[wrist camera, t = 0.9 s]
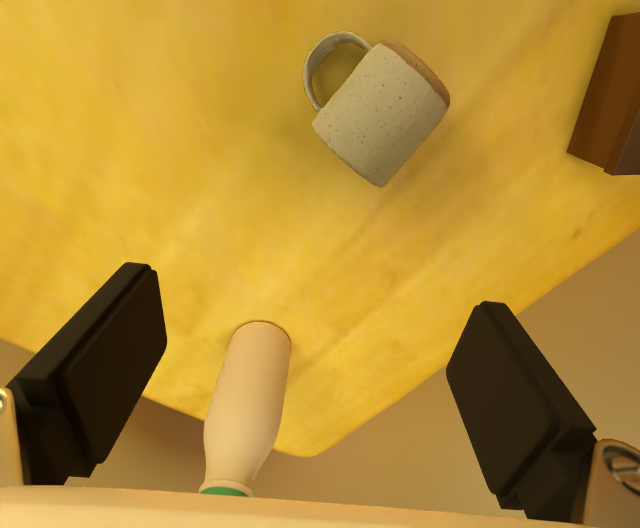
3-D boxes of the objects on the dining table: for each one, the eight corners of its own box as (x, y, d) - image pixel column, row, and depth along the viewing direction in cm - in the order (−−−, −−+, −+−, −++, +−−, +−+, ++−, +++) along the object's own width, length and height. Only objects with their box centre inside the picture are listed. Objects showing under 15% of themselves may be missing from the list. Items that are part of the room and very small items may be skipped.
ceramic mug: (442, 96, 28) (474, 109, 22) (375, 172, 32) (386, 202, 25) (345, 0, 25) (348, -20, 19) (283, 96, 29) (268, 108, 22)
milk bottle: (223, 323, 43) (153, 502, 26) (283, 315, 42) (250, 496, 25) (243, 365, 47) (193, 543, 30) (297, 358, 46) (278, 539, 29)
